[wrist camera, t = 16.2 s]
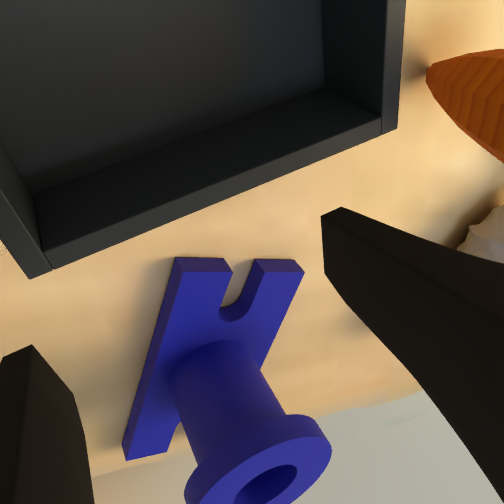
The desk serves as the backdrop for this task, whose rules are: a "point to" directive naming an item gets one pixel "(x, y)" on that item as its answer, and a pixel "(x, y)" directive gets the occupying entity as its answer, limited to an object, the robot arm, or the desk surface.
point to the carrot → (473, 95)
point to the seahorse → (487, 237)
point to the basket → (175, 108)
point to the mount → (225, 387)
